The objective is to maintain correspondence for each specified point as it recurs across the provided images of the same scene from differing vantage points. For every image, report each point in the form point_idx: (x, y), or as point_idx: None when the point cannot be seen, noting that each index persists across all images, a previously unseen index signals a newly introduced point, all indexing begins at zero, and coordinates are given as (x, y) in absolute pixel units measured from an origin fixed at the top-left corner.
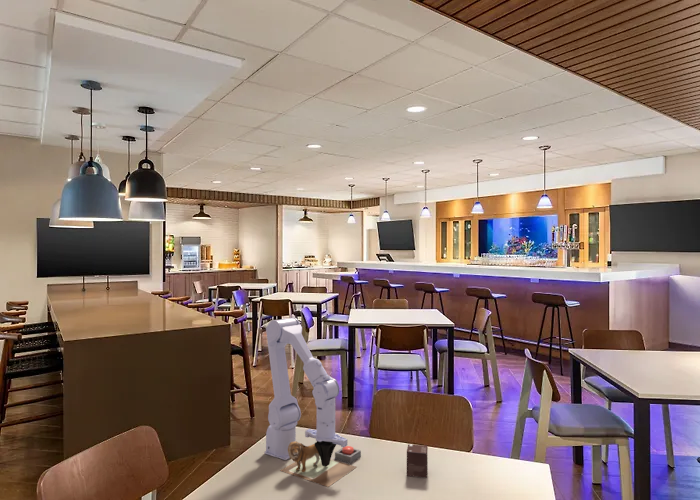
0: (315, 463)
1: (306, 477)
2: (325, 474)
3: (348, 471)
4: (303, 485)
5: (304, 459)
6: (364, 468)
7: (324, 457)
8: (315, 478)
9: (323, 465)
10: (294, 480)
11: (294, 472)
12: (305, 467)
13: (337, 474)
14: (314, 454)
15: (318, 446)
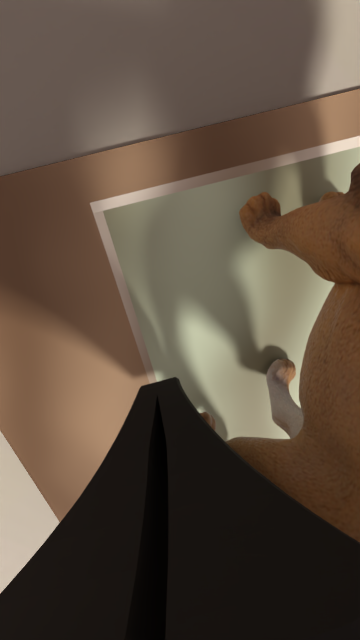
0: (275, 372)
1: (164, 176)
2: (102, 338)
3: (41, 473)
4: (37, 15)
5: (322, 235)
6: (25, 548)
7: (126, 445)
8: (93, 230)
9: (161, 383)
10: (202, 24)
11: (321, 154)
12: (264, 240)
13: (44, 402)
14: (302, 405)
15: (228, 605)
